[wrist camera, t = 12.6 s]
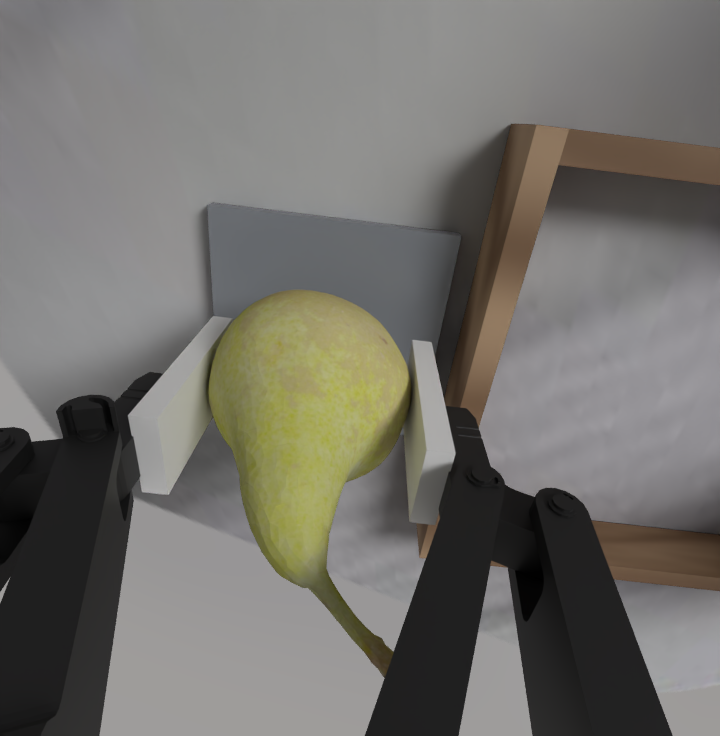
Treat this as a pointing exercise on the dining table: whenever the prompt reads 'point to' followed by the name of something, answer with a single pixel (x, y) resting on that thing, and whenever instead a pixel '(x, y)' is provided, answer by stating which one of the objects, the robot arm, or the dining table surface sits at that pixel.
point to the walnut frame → (500, 294)
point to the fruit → (307, 427)
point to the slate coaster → (334, 266)
